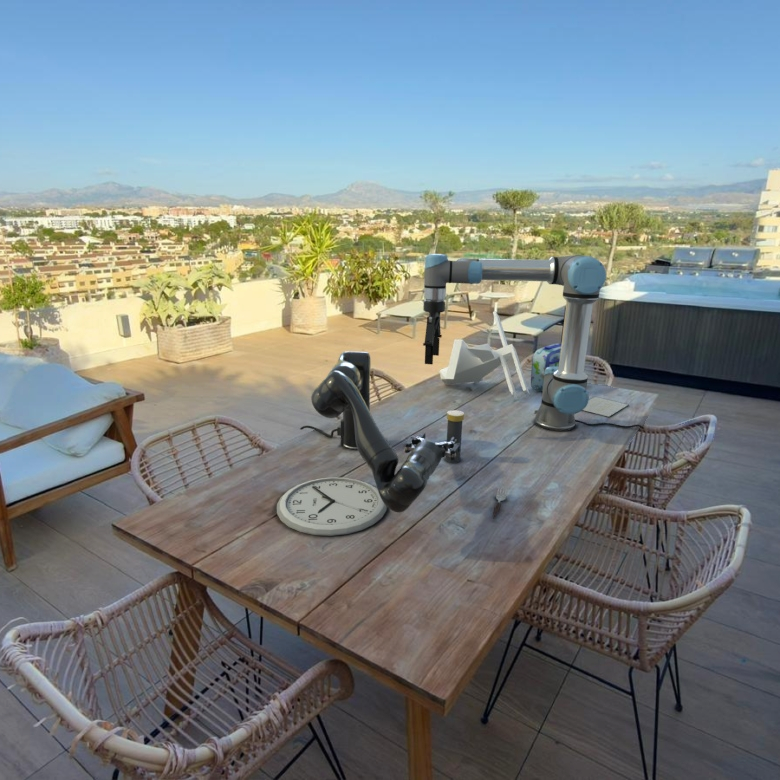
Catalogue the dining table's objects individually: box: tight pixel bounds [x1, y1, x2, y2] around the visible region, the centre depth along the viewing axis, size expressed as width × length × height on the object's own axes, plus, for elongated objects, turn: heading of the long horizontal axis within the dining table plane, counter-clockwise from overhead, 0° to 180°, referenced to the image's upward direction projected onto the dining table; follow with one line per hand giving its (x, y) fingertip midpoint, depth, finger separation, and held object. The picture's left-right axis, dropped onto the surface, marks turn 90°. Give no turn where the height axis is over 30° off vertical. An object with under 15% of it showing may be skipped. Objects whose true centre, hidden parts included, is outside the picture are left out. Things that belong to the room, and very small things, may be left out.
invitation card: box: [582, 396, 629, 418], centre depth 226 cm, size 21×1×15 cm
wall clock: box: [276, 476, 388, 537], centre depth 142 cm, size 30×2×30 cm
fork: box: [492, 486, 508, 519], centre depth 143 cm, size 3×16×2 cm, turn 160°
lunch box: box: [530, 343, 562, 391], centre depth 249 cm, size 26×11×21 cm, turn 134°
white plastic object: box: [438, 310, 531, 400], centre depth 245 cm, size 37×45×31 cm
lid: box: [446, 409, 465, 422], centre depth 167 cm, size 5×5×2 cm
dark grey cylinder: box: [445, 419, 463, 464], centre depth 170 cm, size 5×5×16 cm
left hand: (438, 438), depth 147 cm, fingers open, 8 cm apart
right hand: (431, 359), depth 188 cm, fingers open, 13 cm apart
